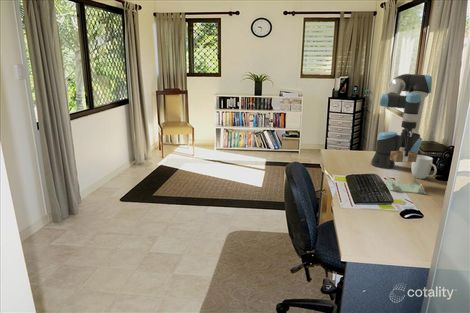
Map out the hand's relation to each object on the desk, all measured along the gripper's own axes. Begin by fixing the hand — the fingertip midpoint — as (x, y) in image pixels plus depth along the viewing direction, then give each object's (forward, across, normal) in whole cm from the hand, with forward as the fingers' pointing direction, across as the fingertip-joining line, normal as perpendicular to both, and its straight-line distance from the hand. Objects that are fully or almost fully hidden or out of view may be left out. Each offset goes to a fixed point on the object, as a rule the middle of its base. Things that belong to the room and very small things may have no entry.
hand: (402, 159), depth 206 cm
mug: (+14, -14, +16) cm, 25 cm away
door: (+1, 0, 0) cm, 1 cm away
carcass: (+14, +10, +1) cm, 18 cm away
